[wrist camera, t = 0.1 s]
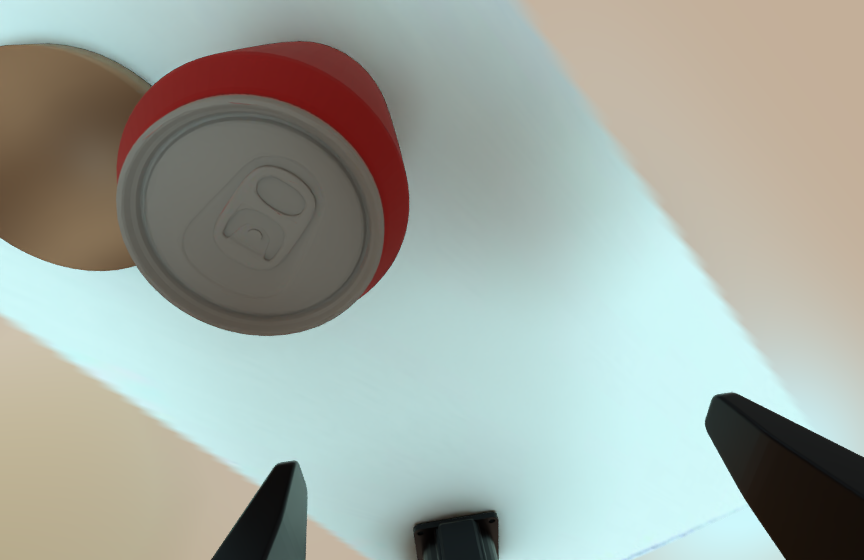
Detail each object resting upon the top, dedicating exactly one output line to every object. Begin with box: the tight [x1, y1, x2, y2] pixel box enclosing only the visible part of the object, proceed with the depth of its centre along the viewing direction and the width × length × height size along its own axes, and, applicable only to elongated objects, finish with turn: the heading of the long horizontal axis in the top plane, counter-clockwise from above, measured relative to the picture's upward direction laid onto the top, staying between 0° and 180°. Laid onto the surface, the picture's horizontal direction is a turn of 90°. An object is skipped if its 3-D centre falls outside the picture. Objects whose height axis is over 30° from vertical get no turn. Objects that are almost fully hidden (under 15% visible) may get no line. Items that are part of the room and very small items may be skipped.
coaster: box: [0, 44, 151, 271], centre depth 19 cm, size 9×9×2 cm
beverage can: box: [116, 41, 409, 336], centre depth 15 cm, size 7×7×12 cm
